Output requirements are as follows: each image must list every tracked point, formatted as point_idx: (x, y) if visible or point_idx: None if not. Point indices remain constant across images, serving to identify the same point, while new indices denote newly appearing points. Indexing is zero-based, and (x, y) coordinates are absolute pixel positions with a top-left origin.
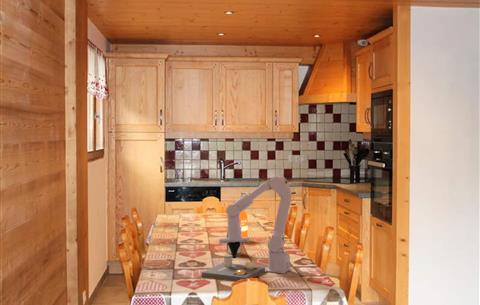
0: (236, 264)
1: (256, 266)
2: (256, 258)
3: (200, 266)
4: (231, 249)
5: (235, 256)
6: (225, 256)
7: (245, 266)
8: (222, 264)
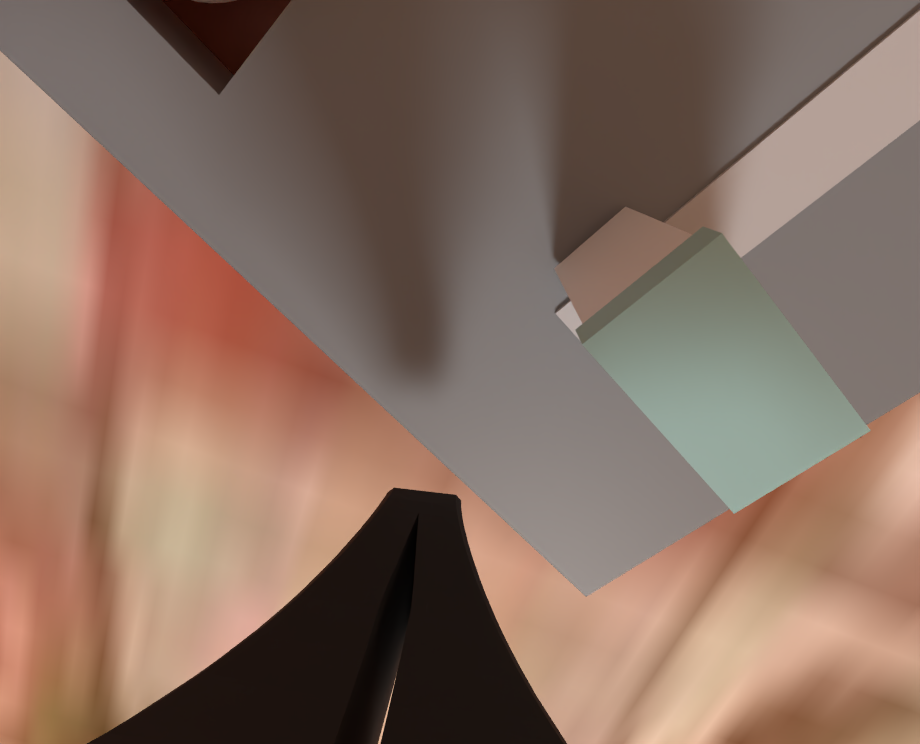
0: (406, 398)
1: (13, 49)
2: (25, 729)
3: (861, 673)
4: (532, 695)
5: (395, 508)
6: (836, 389)
7: (269, 157)
8: (657, 494)
